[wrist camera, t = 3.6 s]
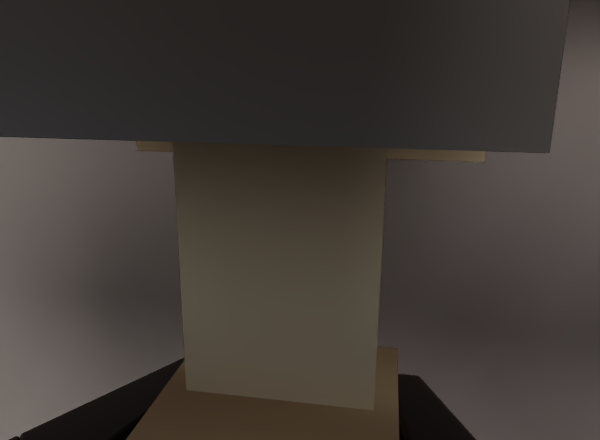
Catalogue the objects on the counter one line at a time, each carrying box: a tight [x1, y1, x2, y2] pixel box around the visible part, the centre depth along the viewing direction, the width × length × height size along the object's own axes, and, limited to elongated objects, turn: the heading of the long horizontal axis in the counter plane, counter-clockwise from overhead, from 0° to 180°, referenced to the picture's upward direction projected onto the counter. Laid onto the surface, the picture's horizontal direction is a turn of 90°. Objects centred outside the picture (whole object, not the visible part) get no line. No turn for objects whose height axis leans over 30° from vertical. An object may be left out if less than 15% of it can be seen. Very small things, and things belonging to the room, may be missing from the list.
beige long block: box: [126, 142, 399, 440], centre depth 6 cm, size 11×3×3 cm, turn 179°
